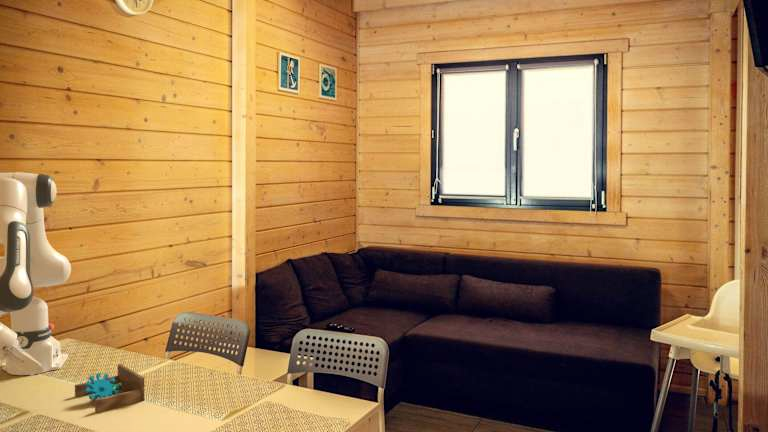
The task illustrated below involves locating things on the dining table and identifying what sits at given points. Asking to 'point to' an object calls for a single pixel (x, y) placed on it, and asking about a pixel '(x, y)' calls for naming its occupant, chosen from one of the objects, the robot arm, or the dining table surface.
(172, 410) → the dining table surface
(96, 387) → the teal round spiked piece
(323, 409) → the dining table surface
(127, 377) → the bay
